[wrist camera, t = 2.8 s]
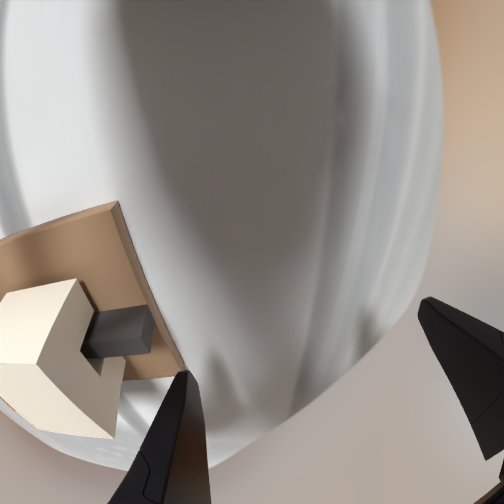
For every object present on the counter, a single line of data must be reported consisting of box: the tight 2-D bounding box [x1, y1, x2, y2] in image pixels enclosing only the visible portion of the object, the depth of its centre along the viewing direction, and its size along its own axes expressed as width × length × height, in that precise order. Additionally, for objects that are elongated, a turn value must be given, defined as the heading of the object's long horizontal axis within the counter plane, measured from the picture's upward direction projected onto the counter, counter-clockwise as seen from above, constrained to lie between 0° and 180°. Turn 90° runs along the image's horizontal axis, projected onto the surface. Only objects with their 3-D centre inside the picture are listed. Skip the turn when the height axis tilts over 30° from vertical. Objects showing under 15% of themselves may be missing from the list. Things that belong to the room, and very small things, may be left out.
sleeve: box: [0, 278, 126, 439], centre depth 9 cm, size 5×5×5 cm
